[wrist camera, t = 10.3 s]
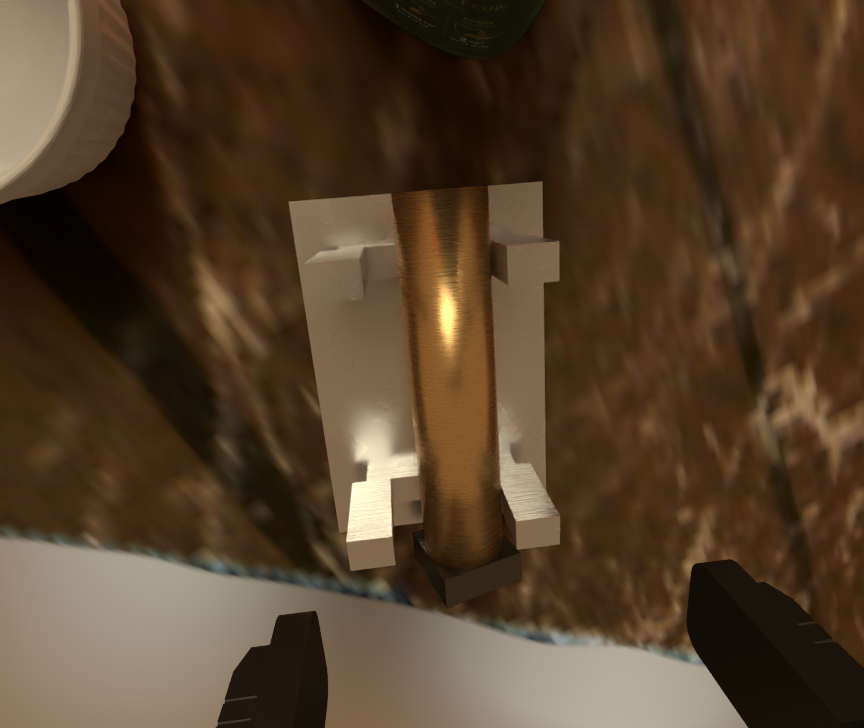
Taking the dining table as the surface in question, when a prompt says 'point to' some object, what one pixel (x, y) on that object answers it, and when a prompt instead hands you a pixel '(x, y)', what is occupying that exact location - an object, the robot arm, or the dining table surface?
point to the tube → (453, 389)
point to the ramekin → (61, 90)
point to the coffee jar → (462, 23)
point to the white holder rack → (388, 369)
